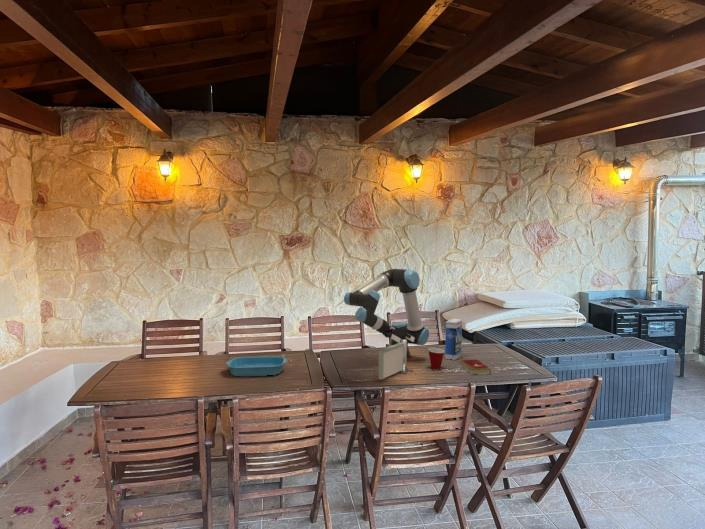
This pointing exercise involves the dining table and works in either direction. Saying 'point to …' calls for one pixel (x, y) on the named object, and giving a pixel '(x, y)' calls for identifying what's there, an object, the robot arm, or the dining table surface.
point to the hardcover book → (475, 366)
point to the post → (405, 357)
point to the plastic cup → (436, 357)
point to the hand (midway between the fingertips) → (406, 340)
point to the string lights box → (453, 339)
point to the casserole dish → (256, 366)
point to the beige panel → (390, 360)
